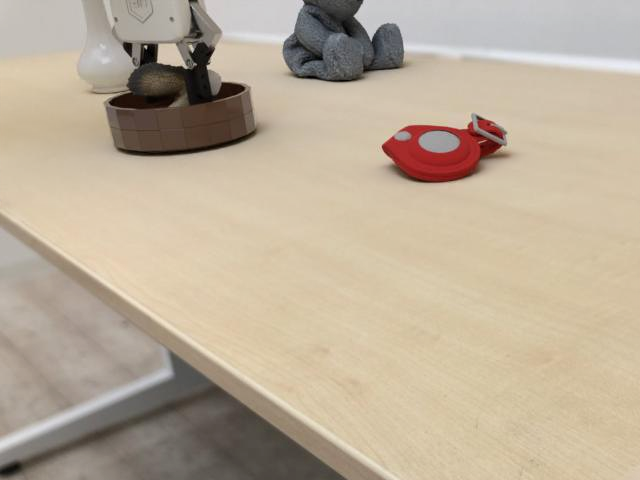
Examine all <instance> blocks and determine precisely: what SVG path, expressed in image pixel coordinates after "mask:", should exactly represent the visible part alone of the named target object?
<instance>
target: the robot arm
mask: <svg viewBox="0 0 640 480" xmlns="http://www.w3.org/2000/svg"><path fill="white" fill-rule="evenodd" d="M109 6H110V11H111V16H112V21H113V26H112V35H113V36H114V37H115V39H116V40H117V41H118V42H119V43H120V44H121V45H122V46H123V48H124V50H125V51H126V53H127V54H128V55H129V56H130V57H131V58H132V64H133V65H134V66H135V67H140V66H142V65H146V63H148V64H149V63H150V62H157V63H159V64H163V63H161V62H158V58H159V45H163V44H164V45H165V44H166V45H167V44H169V45H170V44H171V45H172V44H175V46H176V47H177V50H178V53H179V54H180V56H181V58H182V61H183V63H184V64H185V66H186V68H185V69H183V75H184V80H185V85H186V90H187V95H188V100H189V104H190V105H194V104H202V103H207V102H211V101H212V100H213V97H212V92H211V86H210V81H209V75H208V70H209V69H208V66H210V65H211V63H212V59H211V58H212V56H213V54H214V52H215V51H216V47H217V45H218V44H219V42H220V40H221V38H222V36H223V31H222V29H221V27H219V25H218V24H217V23H216V22H215V21H214V20H213V19H212V18H211V16H210V15H209V14H208V13H207V8H206V7H207V6H206V3H205V0H109ZM190 46H192V48H193V51H192V49H191V47H190ZM207 69H208V70H207ZM144 98H145V102H146V103H150V104H151V103H155V102H159V101H162V100H166V99H168V98H169V96H161V97H156V96H144Z"/></svg>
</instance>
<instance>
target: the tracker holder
mask: <svg viewBox="0 0 640 480" xmlns="http://www.w3.org/2000/svg"><path fill="white" fill-rule="evenodd" d="M470 117H471V121H470V122H468V123H467V128H458V127H457V128H455V127H451V126H443V125H431V124H409V125H407V126H404V127H403V128H401V129H399V130H398V131H397V132H396V133H395V134H393V135H391V137H390V138H389V139H388V140H386V141H385V142H383V143H382V144H381V149H382V152H383V153H384V154H385V155H386V156H387V157H388V158H390V159H391V160H392V161H393V163H394V164H395V165H397V166H398V168H400V170H402V171H403V172H405V173H406V174H407V175H408V176H410V177H413V178H415V179H418V180H422V181H426V182H438V183H439V182H451V181H455V180H459V179H461V178H465V177H466V176H468V175H470V174H471V173H472V172H473V171H475V170H476V168H477V166H478V164H479V161H480V159H481V158H483V157H486V156H490V155H493V154H494V153H496V152H497V151H498V150H500V149H501V148H502V147H507V146H508V141H507V136H506V135H508V131H507V130H506V129H505V128H504V127H503V126H501V125H499V124H497V123H496V122H495V121H492V120H489V119H487V118H485V117H483V116H482V115H479V114H477V113H476V112H472V113H471V115H470Z"/></svg>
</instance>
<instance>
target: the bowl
mask: <svg viewBox="0 0 640 480" xmlns="http://www.w3.org/2000/svg"><path fill="white" fill-rule="evenodd" d="M221 82H222V85H221V87H220V90H219V92H218V94H217V95H212V97H213V100H212V101H211V102H207V103H202V104H194V105H187V106H180V107H169V106H170V105H171V104H172V103H173V102H174V100H175V98H174V97H173V96H169V98H168V99H166V100H162V101H159V102H155V103H151V104H150V103H146V102H145V98H144V96H136V95H133V92H131V91H129V90H128V91H126V92H125V91H124V92H121V93H119V94H115V95H113V96H111V97H108V98H107V99H105V100H104V101H103V102H102V105H103V109H104V112H105V117H106V121H107V125H108V129H109V134H110V138H111V141H112V143H113V144H114V146H115V147H117V148H119V149H123V150H127V151H137V152H142V153H150V152H168V153H178V152H177V151H182V152H187V151H186V150H191V151H196V150H195V149H198V150H202V148H203V149H208V147H209V148H213V147H217V146H221V145H224V143H225V144H227V142H228V143H230V142H229V141H231V142H233V141H235V140H238V139H239V138H242V137H244V136H247V135H249V134H250V133H252V132H254V131H255V130H256V129H257V125H258V122H257V117H256V110H255V105H254V98H253V91H252V86H250V85H248V84H247V83H242V82H237V81H222V80H221ZM167 107H169V108H167ZM234 139H235V140H234ZM232 140H233V141H232ZM220 144H221V145H220ZM175 151H176V152H175Z"/></svg>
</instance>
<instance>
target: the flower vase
mask: <svg viewBox="0 0 640 480" xmlns="http://www.w3.org/2000/svg"><path fill="white" fill-rule="evenodd" d="M81 3H82V7H83V12H84V17H85V23H86V24H85V25H86V41H85V46H84V49H83V50H82V52H81V53H80V55H79V56H78V60H77V62H76V72H77V75H78V77H79V78H80V79H81V80H82V81H84V83H86V84H88V85H90V86H92V91H93V92H94V93H95V94H112V93H113V94H114V93H120V92H121V93H122V92H125V91H126V92H127V91H129V88H128V87H126V85H127V83H128V82H129V81H128V78H129V77H130V74H131V73H132V72H134V71H133V70H134V69H137V68H138V67H135V66H134V65H133V64H132V58H131V57H130V56H129V55H128V54H127V53H126V51H125V50H124V48H123V46H122V45H121V44H120V43H119V42H118V41H117V40H116V39H115V37H114V36H113V35H112V28H113V26H112V25H111V22H110V20H109V15H108V13H107V9H106V5H105V2H104V0H81Z"/></svg>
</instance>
